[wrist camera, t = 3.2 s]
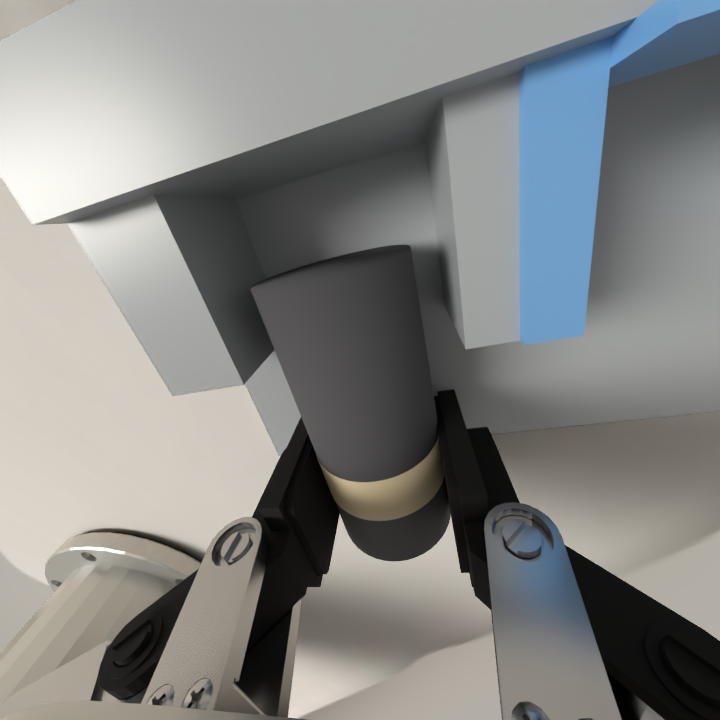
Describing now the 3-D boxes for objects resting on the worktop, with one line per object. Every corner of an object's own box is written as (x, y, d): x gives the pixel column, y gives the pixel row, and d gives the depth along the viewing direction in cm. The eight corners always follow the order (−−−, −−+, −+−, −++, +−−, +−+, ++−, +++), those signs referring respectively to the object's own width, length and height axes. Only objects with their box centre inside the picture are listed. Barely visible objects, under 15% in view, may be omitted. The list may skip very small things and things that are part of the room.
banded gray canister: (445, 461, 11) (458, 564, 8) (354, 465, 12) (332, 559, 9) (412, 238, 8) (409, 261, 5) (287, 267, 9) (214, 304, 5)
